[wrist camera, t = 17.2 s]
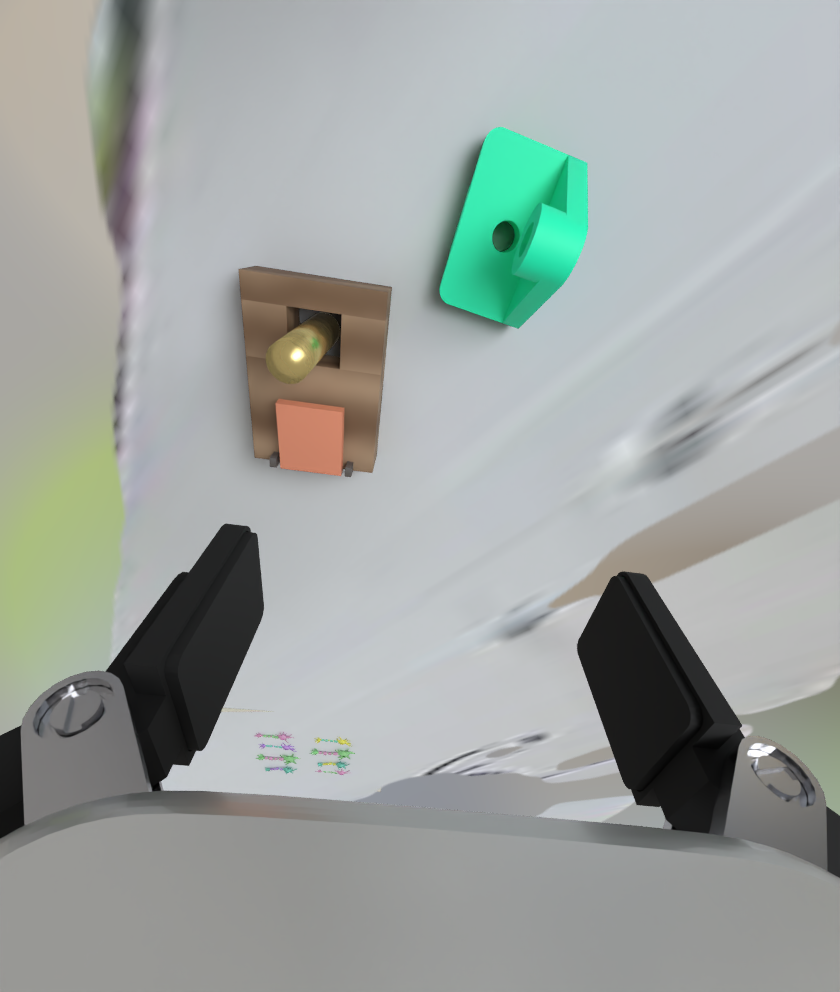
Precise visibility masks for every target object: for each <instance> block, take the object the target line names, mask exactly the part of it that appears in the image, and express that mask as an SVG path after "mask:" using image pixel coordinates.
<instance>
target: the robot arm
mask: <svg viewBox="0 0 840 992" xmlns="http://www.w3.org/2000/svg"><path fill="white" fill-rule="evenodd" d="M263 611H264V602H263V591H262V580H261V570H260V559H259V548H258V537H257V534H256V533H251V530H250V528H249V527H248V526H241V525H233V524H224V525H223V526H222V527H221V528H220V530H219V531H218V532H217V534H216V535H215V537H214V538H213V540H212V541H211V542H210V544H209V545H208V547H207V548H206V549H205V551H204V552H203V554H202V555H201V556H200V558H199V559H198V561H197V562H196V563H195V565H194V566H193V568H192V569H191V570H190V572H189V573H188V572H182V573H180V574H178V576H177V577H176V578H175V579H174V580H173V581H172V583H171V584H170V585H169V587H168V588H167V589H166V591H165V592H164V593H163V595H162V596H161V597H160V599H159V600H158V601H157V603H156V604H155V606H154V607H153V608H152V610H151V611H150V612H149V614H148V615H147V616H146V618H145V619H144V620H143V622H142V623H141V624H140V626H139V627H138V628H137V630H136V631H135V632H134V634H133V635H132V637H131V638H130V639H129V641H128V642H127V643H126V645H125V646H124V647H123V649H122V650H121V651H120V653H119V654H118V655H117V657H116V658H115V659H114V661H113V662H112V663H111V665H110V666H109V668H108V669H107V670H106V672H104V671H91V672H84V673H80V674H77V675H74V676H70V677H68V678H66V679H64V680H62V681H60V682H58V683H57V684H55V685H53V686H52V687H51V688H49V689H48V690H46V691H45V692H44V693H42V694H41V695H40V696H39V697H38V698H37V699H36V700H35V701H34V703H33V704H32V705H31V706H30V707H29V709H28V711H27V712H26V714H25V716H24V718H23V721H22V725H21V726H19V727H17V728H15V729H13V730H11V731H9V732H7V733H5V734H2V735H1V736H0V992H840V816H839V815H838V814H836V813H835V812H834V811H832V810H831V809H829V808H828V807H827V806H826V800H825V796H824V792H823V790H822V788H821V786H820V784H819V782H818V780H817V779H816V777H815V776H814V775H813V774H812V772H811V771H810V770H809V768H808V767H807V766H806V765H805V764H804V763H803V762H802V761H801V760H800V759H799V758H798V757H797V756H795V755H794V754H793V753H791V752H790V751H788V750H787V749H786V748H785V747H783V746H782V745H780V744H778V743H776V742H774V741H772V740H770V739H767V738H764V737H760V736H748V737H746V738H745V737H744V736H743V734H742V732H741V731H740V728H741V727H742V724H741V723H740V721H739V720H738V718H737V717H736V715H735V713H734V712H733V710H732V709H731V707H730V706H729V704H728V702H727V701H726V699H725V698H724V696H723V695H722V693H721V691H720V690H719V688H718V687H717V685H716V684H715V682H714V680H713V679H712V677H711V676H710V674H709V673H708V671H707V669H706V668H705V666H704V665H703V663H702V662H701V660H700V658H699V657H698V655H697V654H696V652H695V651H694V649H693V647H692V646H691V644H690V643H689V641H688V640H687V638H686V636H685V635H684V633H683V632H682V630H681V629H680V627H679V625H678V624H677V622H676V621H675V619H674V618H673V616H672V614H671V613H670V611H669V610H668V608H667V607H666V605H665V603H664V602H663V600H662V599H661V597H660V596H659V594H658V592H657V591H656V589H655V588H654V586H653V585H652V583H651V581H650V580H649V578H648V577H647V576H646V575H644V574H640V573H631V572H620V573H618V575H617V576H613V577H612V578H611V579H610V581H609V583H608V585H607V587H606V589H605V591H604V593H603V594H602V596H601V598H600V600H599V602H598V604H597V606H596V608H595V610H594V612H593V614H592V615H591V617H590V619H589V621H588V623H587V625H586V627H585V629H584V631H583V633H582V634H581V636H580V638H579V640H578V644H577V651H578V655H579V658H580V661H581V664H582V667H583V670H584V672H585V675H586V678H587V681H588V684H589V687H590V689H591V692H592V695H593V698H594V701H595V704H596V706H597V709H598V712H599V715H600V718H601V721H602V723H603V726H604V729H605V732H606V735H607V738H608V740H609V743H610V746H611V749H612V751H613V754H614V757H615V760H616V763H617V766H618V769H619V771H620V774H621V777H622V780H623V782H624V784H625V786H626V787H627V788H628V789H631V790H632V793H633V796H634V799H635V801H636V804H637V805H643V806H655V807H660V806H661V808H662V810H663V813H664V815H665V818H666V819H665V822H664V826H663V829H661V828H652V827H643V826H632V825H621V824H610V823H599V822H588V821H577V820H565V819H554V818H543V817H532V816H520V815H508V814H497V813H485V812H473V811H461V810H450V809H436V808H425V807H414V806H402V805H389V804H377V803H364V802H352V801H339V800H327V799H314V798H301V797H289V796H275V795H258V794H242V793H225V792H209V791H163V787H162V783H161V781H162V780H163V779H165V778H166V777H167V776H168V774H169V771H170V769H171V767H172V765H173V764H174V765H186V766H189V765H190V763H191V760H192V758H193V756H194V754H195V752H196V751H202V750H203V749H204V748H205V746H206V745H207V743H208V740H209V738H210V736H211V734H212V731H213V729H214V727H215V724H216V722H217V720H218V718H219V715H220V713H221V711H222V708H223V706H224V704H225V702H226V699H227V697H228V695H229V692H230V690H231V688H232V686H233V683H234V681H235V679H236V676H237V674H238V672H239V670H240V667H241V665H242V663H243V660H244V658H245V656H246V654H247V651H248V649H249V647H250V644H251V642H252V640H253V638H254V635H255V633H256V631H257V628H258V626H259V624H260V622H261V619H262V616H263Z"/></svg>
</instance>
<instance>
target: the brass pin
mask: <svg viewBox="0 0 840 992" xmlns="http://www.w3.org/2000/svg"><path fill="white" fill-rule="evenodd" d="M339 336H340V327H339V324H338V322H337V320H336V319H335V318H334V317H333V316H332V315H330V314H328V313H324V312H320V313H317V314H315V315H313V316H312V317H310V318H309V319H308V320H306V321H305V322H303V323H302V324H300V325H299V326H298V327H296V328H295V329H293V330H292V331H290V332H289V333H287V334H286V335H285V336H283V337H282V338H280V339H279V340H277V341H276V342H275V343H273V344H272V345H271V346H270V347H269V348H268V350H267V353H266V365H267V367H268V370H269V371H270V373H271V374H272V375H273V376H274V377H275V378H276V379H277V380H279V381H281V382H283V383H286V384H295V383H299V382H300V381H302V380H303V379H304V378H305V377H306V376H307V375H308V374H309V372H310V371H311V370H312V369H313V368H314V367H315V366H316V364H317V363H318V362H319V361H320V360H321V359H322V357H323V356H324V355H325V354H326V353H327V352H328V351H329V349H330V348H331V347H332V346H333V345H334V344H335V343H336V341H337V340H338V338H339Z"/></svg>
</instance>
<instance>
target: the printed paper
mask: <svg viewBox="0 0 840 992" xmlns="http://www.w3.org/2000/svg"><path fill="white" fill-rule="evenodd" d="M221 712H274V711H259V710H245V709H231V708H222V711H221ZM283 733H284V732H283ZM256 734H257V733H256ZM258 734H259V733H258ZM258 734H257V735H255V736H258V737H261V736H263V737H272V738H280V739H281V740H286V738H292V737H289V736H286V735H284V734H283V735H277V736H279V737H277V736H273V735H272V736H270V735H269V736H266V735H261V734H259V735H258ZM290 736H291V735H290ZM339 738H340V737H339ZM314 739H315V738H314ZM320 740H321V741H326V742H327V741H330V742H333V740H324V739H317V741H318V742H320ZM286 742H287V741H286ZM318 742H317V743H318ZM334 742H339V743H340V744H342V745H343V744H347V745H348V744H351V743H346V742H347V741H345V740H342V739H341V738H340V740H338V739H337V741H335V740H334ZM287 743H288V742H287ZM262 744H263V743H262ZM283 744H284V743H283ZM259 745H261V744H259ZM265 746H266V747H269V745H264V744H263V745H262V746H261V747H265ZM281 746H282V745H281ZM281 746H279V747H278V746H274V747H278V748H284V749H285V750H289V749H291V748H290V747H294V746H290V745H289V746H286V745H285V744H284V746H282V747H281ZM348 746H350V745H348ZM270 747H273V746H272V745H270ZM261 749H262V748H261ZM314 749H315V748H314ZM291 750H292V751H293V750H294V749H291ZM311 751H313V752H312V753H314V754H315V755H316V754H317V753H319V754H324V755H327V754H328V755H331V754H333V755H340V756H341V757H338V758H341V759H342V758H343V757H344V758H345V757H348V755H349V754H355V753H352V752H348V750H347V751H340V750H338V751H339V752H338V753H337V751H336V750H335V751H336V752H334V753H332V752H329V753H327V752H321V751H320V752H318V751H317V750H316V749H315V751H314V750H311ZM294 752H297V751H294ZM312 753H310V754H312ZM314 754H312V755H314ZM293 755H294V754H292V756H288V757H287V756H284V755H282V756H284V757H282V756H281V755H280V756H281V757H282V758H273V757H269V758H268V757H264V756H263V755H262V754H261V756H260V757H259V758H256V759H259V760H261V759H262V760H263V759H269V760H273V759H274V760H278V759H279V760H281V761H282V760H286V762H284V763H287V764H289V763H291V762H293V763H295V762H294V760H295V759H299V758H298V757H293ZM258 756H259V755H258ZM260 758H261V759H260ZM348 758H349V757H348ZM341 759H339V760H341ZM340 762H341V761H340ZM340 762H339V763H337V764H335V763H333V765H337V766H338V769H339V768H342V767H343V768H345V767H344V766H347V765H345V764H344V763H343V764H342V763H340ZM345 763H346V762H345ZM287 764H285V765H287ZM295 764H296V763H295ZM328 764H329V765H332V763H323V764H321V763H318V766H322V765H328ZM348 765H349V764H348ZM343 768H342V769H343ZM278 769H280V770H284V771H285V772H286V773H289V772H291V771H294V770H291V768H287V767H286V768H270V769H269V768H266V771H269V770H278ZM345 769H346V768H345ZM295 770H296V769H295ZM335 771H336V770H335ZM349 771H350V770H349ZM315 772H322V771H321V770H318V771H315ZM323 772H326V771H323ZM337 772H338V773H339V774H340V775H343V774H345V772H343V771H337ZM347 772H348V771H347ZM291 773H292V772H291ZM331 773H335V774H337V773H336V772H331ZM377 792H381V788H380V789H379V790H378V791H377Z"/></svg>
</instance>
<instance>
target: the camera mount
mask: <svg viewBox="0 0 840 992" xmlns="http://www.w3.org/2000/svg"><path fill="white" fill-rule="evenodd" d="M502 221H505V222H508V223H509V224H511V226H512V227H513V229H514V241H513V243H512V245H511V246H510V247H509V248H508V249H507V250H505V251H502V252H499V251H498V250H497V249H496V248H495V247H494V245H493V242H492V234H493V231H494V229H495V227H496V226H497V225H498V224H499V223H500V222H502ZM587 230H588V185H587V163H586V162H584V161H582V160H579V159H577V158H574V157H572V156H570V155H567V154H565V153H563V152H560V151H558V150H555V149H553V148H551V147H548V146H546V145H544V144H541V143H539V142H536V141H534V140H532V139H529V138H527V137H525V136H522V135H520V134H518V133H515V132H513V131H510V130H508V129H506V128H503V127H498V128H495V129H493V130H492V131H490V132H489V134H488V135H487V137H486V138H485V140H484V142H483V145H482V148H481V151H480V154H479V158H478V161H477V164H476V168H475V171H474V174H473V178H472V181H471V184H470V186H469V189H468V192H467V195H466V199H465V202H464V205H463V209H462V212H461V215H460V219H459V222H458V225H457V228H456V232H455V235H454V238H453V242H452V245H451V248H450V253H449V257H448V260H447V263H446V267H445V270H444V273H443V276H442V280H441V283H440V287H439V291H440V296H441V298H442V300H443V301H444V302H445V303H447V304H449V305H452V306H455V307H458V308H461V309H463V310H466V311H469V312H472V313H475V314H478V315H481V316H484V317H486V318H489V319H492V320H495V321H498V322H501V323H504V324H506V325H509V326H512V327H515V328H520V327H521V326H522V325H523V324H524V323H525V322H526V321H527V320H528V319H529V318H530V317H531V316H532V315H533V314H534V313H535V312H536V311H537V310H538V309H539V308H540V307H541V306H542V305H543V304H544V303H545V302H546V301H547V300H548V299H549V298H550V297H551V296H552V295H553V294H554V293H555V292H556V291H557V290H558V289H559V288H560V287H561V286H562V285H563V284H564V282H565V281H566V280H567V278H568V277H569V275H570V273H571V272H572V270H573V268H574V266H575V264H576V262H577V260H578V258H579V256H580V253H581V251H582V248H583V246H584V243H585V239H586V235H587Z"/></svg>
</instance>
